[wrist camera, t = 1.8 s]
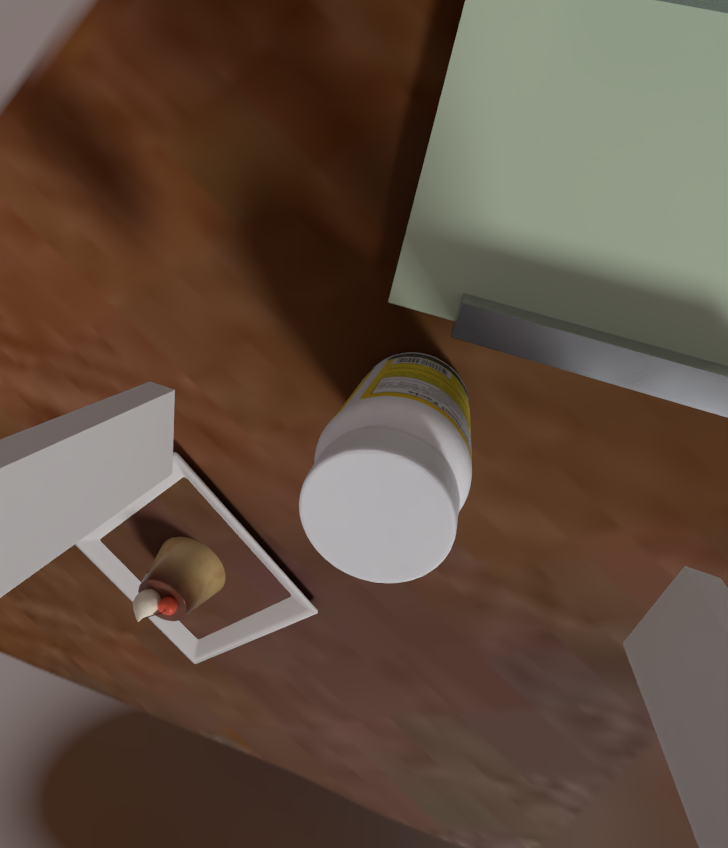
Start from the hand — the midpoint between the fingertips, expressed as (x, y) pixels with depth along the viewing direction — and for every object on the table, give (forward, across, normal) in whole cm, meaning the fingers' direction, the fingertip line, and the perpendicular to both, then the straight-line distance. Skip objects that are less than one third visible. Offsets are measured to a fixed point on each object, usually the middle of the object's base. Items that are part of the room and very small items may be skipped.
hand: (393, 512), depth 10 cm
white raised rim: (+8, -10, -15) cm, 20 cm away
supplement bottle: (+8, -1, 0) cm, 8 cm away
